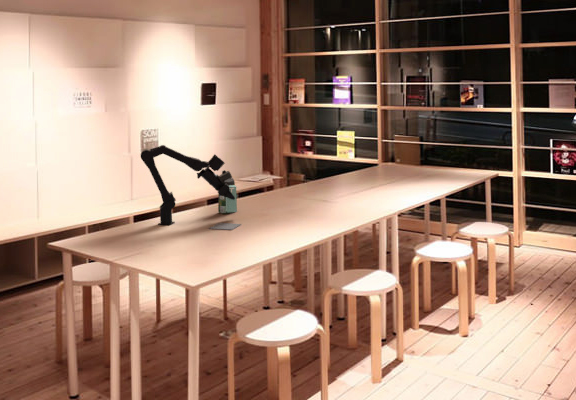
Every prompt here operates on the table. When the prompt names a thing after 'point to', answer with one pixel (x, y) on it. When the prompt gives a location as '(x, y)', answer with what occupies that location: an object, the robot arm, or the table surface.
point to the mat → (225, 226)
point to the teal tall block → (231, 200)
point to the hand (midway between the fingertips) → (233, 198)
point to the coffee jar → (224, 199)
